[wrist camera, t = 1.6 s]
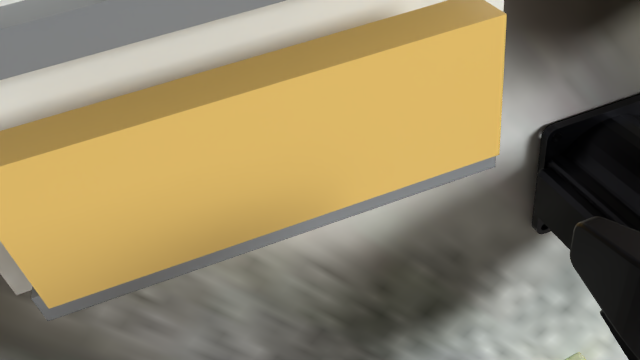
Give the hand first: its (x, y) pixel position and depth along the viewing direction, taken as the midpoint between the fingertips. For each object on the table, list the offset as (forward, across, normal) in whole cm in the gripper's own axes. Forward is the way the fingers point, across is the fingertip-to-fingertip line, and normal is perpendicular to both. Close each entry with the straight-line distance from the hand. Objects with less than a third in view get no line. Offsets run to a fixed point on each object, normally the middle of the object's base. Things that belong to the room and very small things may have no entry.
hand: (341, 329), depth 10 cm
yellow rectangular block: (+6, 0, 0) cm, 6 cm away
